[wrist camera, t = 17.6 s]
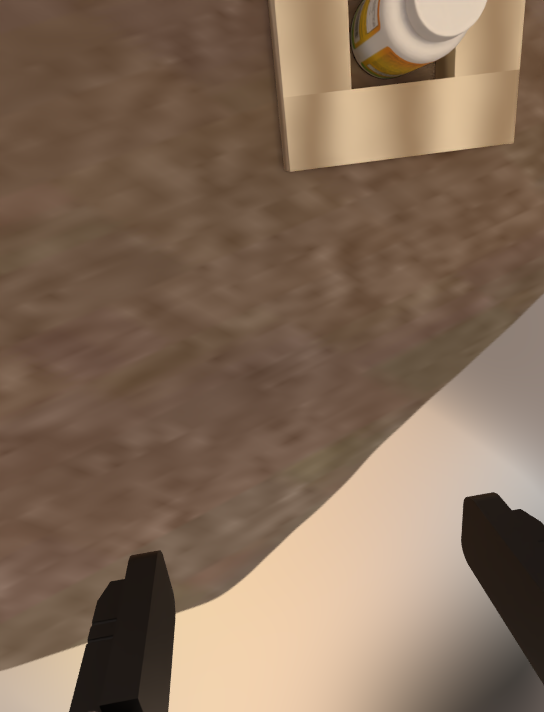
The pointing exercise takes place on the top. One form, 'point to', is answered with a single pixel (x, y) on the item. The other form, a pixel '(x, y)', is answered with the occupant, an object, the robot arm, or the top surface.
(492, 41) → the light wooden square frame
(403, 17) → the supplement bottle
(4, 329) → the top surface
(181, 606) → the top surface
